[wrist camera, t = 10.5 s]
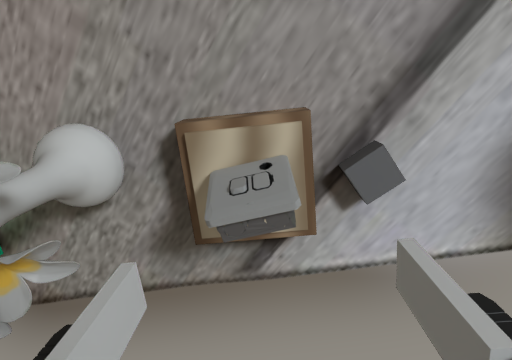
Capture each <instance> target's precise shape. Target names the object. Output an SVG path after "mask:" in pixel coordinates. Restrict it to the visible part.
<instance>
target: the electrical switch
mask: <svg viewBox="0 0 512 360" xmlns="http://www.w3.org/2000/svg"><path fill="white" fill-rule="evenodd" d="M300 206H301V201H300V198H299V195H298V191H297V188H296V184H295V181H294V178H293V174H292V171H291V167H290V164H289V160H288V157H287V156H285V155H280V156H275V157H271V158H267V159H263V160H258V161H254V162H250V163H245V164H241V165H237V166H232V167H228V168H224V169H220V170H215V171H213V172H212V173H211V174H210V179H209V186H208V194H207V202H206V210H205V217H204V219H205V222H206V225H207V226H208V227H209V228H213V227H216V228H217V231H218V232H219V233H220V235H221V237H222V240H223V242H224V243H225V242H229V241H234V240H239V239H243V238H248V237H253V236H258V235H262V234H267V233H272V232H276V231H281V230H286V229H290V228H295V227H296V225H297V224H296V218H295V211H294V210H297V209H298V208H299V207H300ZM261 217H262V218H261ZM264 220H266V222H267V223H266V222H264ZM240 222H242V223H240ZM224 225H225V226H224ZM247 225H248V226H247ZM236 236H238V237H236Z"/></svg>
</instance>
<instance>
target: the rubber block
mask: <svg viewBox="0 0 512 360" xmlns="http://www.w3.org/2000/svg"><path fill="white" fill-rule="evenodd" d="M339 167H340V168H341V170H342V171H343V173H344V174H345V175H346V177H347V178H348V180H349V181H350V183H351V184H352V186H353V187H354V189H355V190H356V192H357V193H358V194H359V196H360V197H361V198H362V199H363V201H364V202H365V203H366V204H369V203H371V202H372V201H374V200H375V199H377V198H379V197H380V196H382V195H383V194H385V193H386V192H388V191H390V190H391V189H393V188H394V187H396V186H397V185H399V184H401V183H402V182H404V181H405V178H404V176H403V175H402V173H401V172H400V170H399V169H398V167H397V165H396V164H395V162H394V161H393V159H392V157H391V156H390V154H389V153H388V151H387V150H386V148H385V146H384V145H383V144H381V143H379V142H377V141H375V140H374V141H373V142H371V143H370V144H368V145H367V146H365V147H364V148H362V149H361V150H359V151H358V152H356V153H355V154H353V155H352V156H350V157H349V158H347V159H346V160H345V161H343V162H342V163H340V164H339Z"/></svg>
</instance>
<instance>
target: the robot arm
mask: <svg viewBox="0 0 512 360" xmlns="http://www.w3.org/2000/svg"><path fill="white" fill-rule="evenodd" d="M396 282H397V284H396V288H397V290H398V291H399V293H400V294H401V296H402V297H403V299H404V300H405V302H406V303H407V305H408V306H409V308H410V310H411V311H412V313H413V314H414V316H415V317H416V319H417V321H418V322H419V324H420V325H421V327H422V328H423V330H424V331H425V333H426V334H427V336H428V338H429V339H430V341H431V342H432V344H433V345H434V347H435V348H436V350H437V351H438V353H439V355H440V356H441V358H442V359H443V360H512V318H511V317H510V316H509V315H508V314H506V313H505V312H504V311H503V310H502V309H501V308H500V307H499V306H498V305H497V304H496V303H495V302H494V301H492V300H491V299H489V298H487V297H485V296H484V295H482V294H480V293H470V294H467V293H466V292H465V291H464V290H463V289H462V288H461V287H460V286H459V285H458V284H457V283H456V282H455V281H454V280H453V279H452V278H451V277H450V276H449V275H448V274H447V273H446V272H445V271H444V269H443V268H442V267H441V266H439V264H438V263H437V262H436V261H435V260H434V259H433V258H432V257H431V256H430V255H429V254H428V253H427V252H426V251H425V250H424V249H423V248H422V247H421V246H420V245H419V244H418V243H417V241H416V240H415V239H414V238H410V239H399V240H397V279H396ZM146 308H147V304H146V300H145V296H144V292H143V288H142V284H141V280H140V276H139V272H138V269H137V265H136V262H131V263H121V264H120V266H119V267H118V268H117V269H116V271H115V272H114V273H113V275H112V276H111V277H110V278H109V280H108V281H107V282H106V283H105V285H104V286H103V287H102V288H101V290H100V291H99V292H98V293H97V295H96V296H95V297H94V298H93V300H92V301H91V302H90V304H89V305H88V306H87V307H86V309H85V310H84V311H83V312H82V314H81V315H80V316H79V317H78V319H77V320H76V321H75V322H74V324H72V325H66V326H64V327H63V328H62V329H61V330H59V331H58V332H57V333H55V334H54V335H53V337H52V338H51V339H50V340H49V341H48V343H47V344H46V345H45V347H44V348H42V350H41V351H40V352H39V353H38V356H36V357H35V358H34V359H33V360H120V358H121V356H122V354H123V352H124V351H125V349H126V346H127V345H128V343H129V341H130V339H131V337H132V335H133V333H134V331H135V329H136V328H137V326H138V324H139V322H140V320H141V318H142V316H143V314H144V312H145V310H146Z"/></svg>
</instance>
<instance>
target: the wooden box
mask: <svg viewBox="0 0 512 360" xmlns="http://www.w3.org/2000/svg"><path fill="white" fill-rule="evenodd" d="M175 129H176V135H177V141H178V146H179V152H180V158H181V163H182V169H183V175H184V181H185V186H186V192H187V198H188V204H189V209H190V215H191V221H192V226H193V232H194V238H195V244H196V245H199V244H211V243H222V242H223V240H222V237H221V235H220V233H219V232H218V231H217V228H216V227H213V228H209V227H208V226H207V225H206V222H205V219H204V217H205V210H206V202H207V194H208V186H209V179H210V174H211V173H212V172H213V171H215V170H220V169H224V168H228V167H232V166H237V165H241V164H245V163H250V162H254V161H258V160H263V159H267V158H271V157H275V156H280V155H285V156H287V157H288V160H289V164H290V167H291V171H292V174H293V178H294V181H295V184H296V188H297V191H298V195H299V198H300V201H301V206H300V207H299V208H298V209H297V210H294V211H295V218H296V224H297V225H296V227H295V228H290V229H286V230H281V231H276V232H272V233H267V234H262V235H258V236H253V237H248V238H243V239H239V240H234V241H246V240H258V239H269V238H281V237H293V236H305V235H317V233H316V213H315V193H314V173H313V153H312V132H311V112H310V110H309V109H307V108H306V107H303V108H293V109H283V110H273V111H263V112H253V113H244V114H234V115H224V116H214V117H204V118H194V119H185V120H182V121H180V122H177V123H175ZM261 218H262V217H261ZM264 222H266V220H264ZM240 223H242V222H240ZM266 223H267V222H266ZM224 226H225V225H224ZM247 226H248V225H247ZM236 237H238V236H236ZM234 241H229V242H234Z"/></svg>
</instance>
